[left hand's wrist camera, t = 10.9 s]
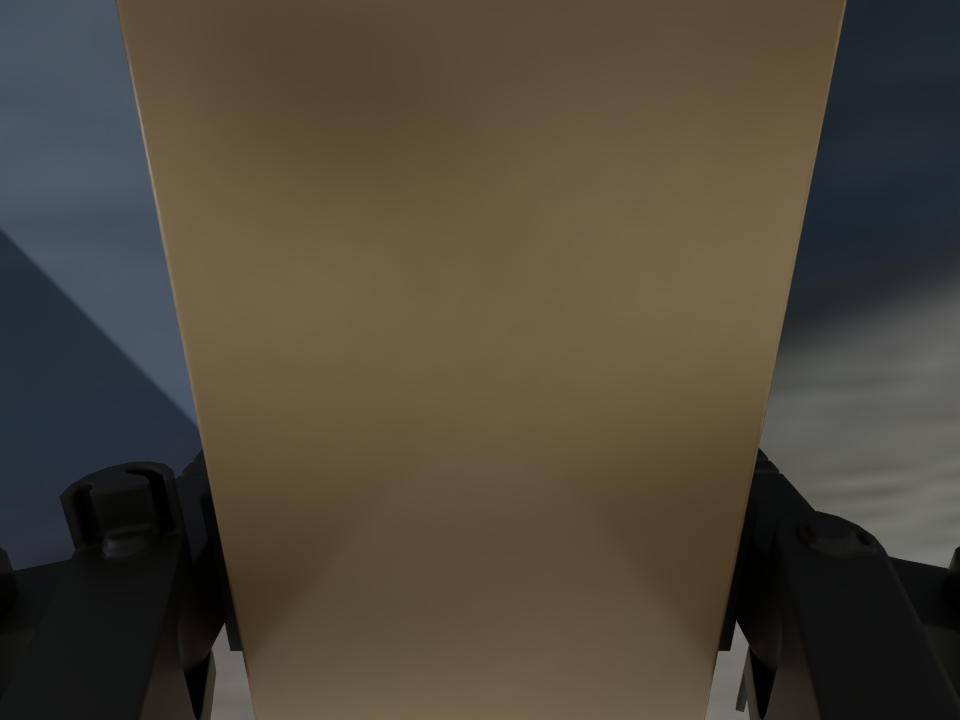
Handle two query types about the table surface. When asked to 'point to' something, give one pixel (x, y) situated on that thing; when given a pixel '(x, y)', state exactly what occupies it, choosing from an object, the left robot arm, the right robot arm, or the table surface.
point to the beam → (480, 331)
